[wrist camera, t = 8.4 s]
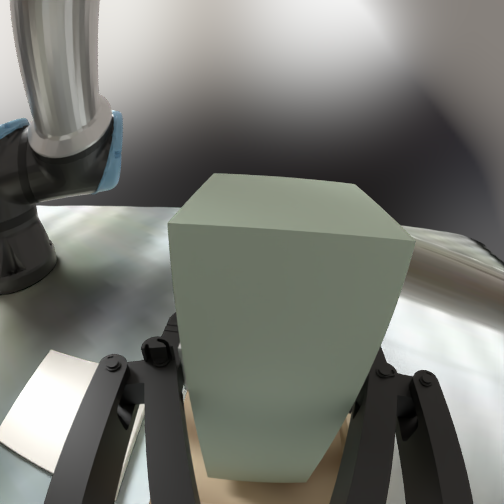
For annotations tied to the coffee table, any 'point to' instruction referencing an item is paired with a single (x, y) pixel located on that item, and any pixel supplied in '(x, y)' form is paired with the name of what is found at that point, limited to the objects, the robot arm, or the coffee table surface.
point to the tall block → (280, 315)
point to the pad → (53, 411)
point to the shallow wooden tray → (264, 493)
